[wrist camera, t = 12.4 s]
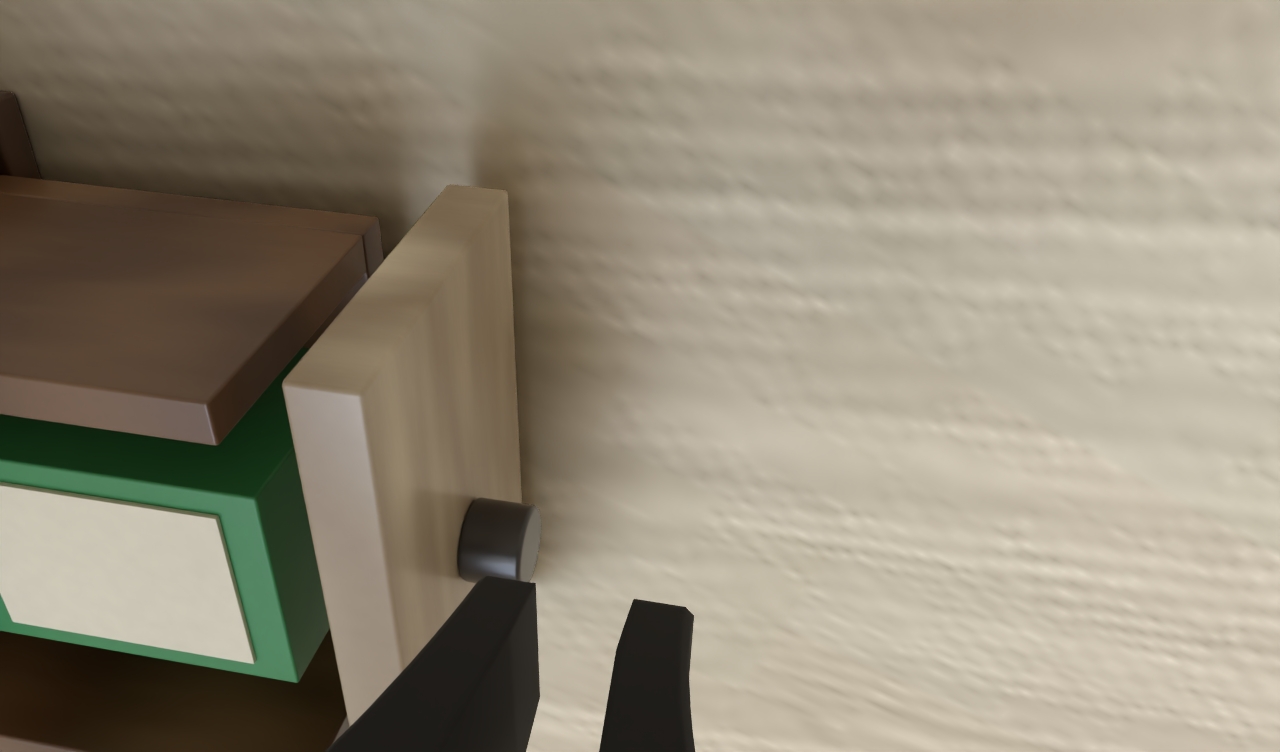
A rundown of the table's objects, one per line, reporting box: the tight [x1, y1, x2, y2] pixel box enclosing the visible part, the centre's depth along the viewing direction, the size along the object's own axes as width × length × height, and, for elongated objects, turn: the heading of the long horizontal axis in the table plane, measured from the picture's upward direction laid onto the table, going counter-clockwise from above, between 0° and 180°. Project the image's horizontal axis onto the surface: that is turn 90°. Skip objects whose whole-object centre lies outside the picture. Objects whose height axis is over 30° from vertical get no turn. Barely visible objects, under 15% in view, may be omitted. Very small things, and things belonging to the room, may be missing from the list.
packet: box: [0, 347, 330, 683], centre depth 21 cm, size 5×6×5 cm
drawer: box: [0, 175, 541, 752], centre depth 21 cm, size 14×11×7 cm
